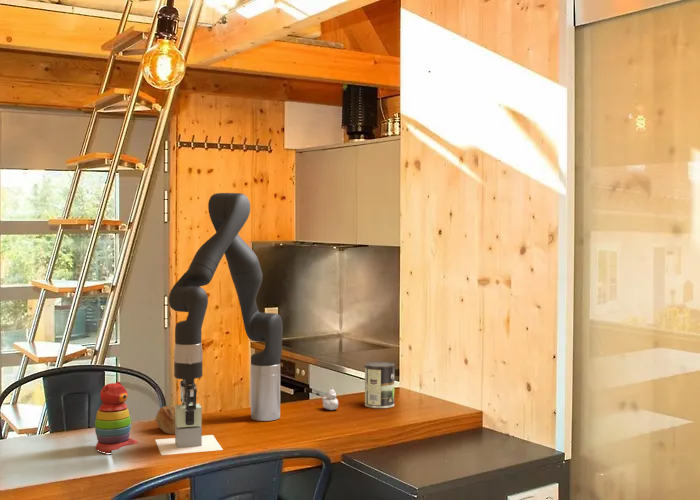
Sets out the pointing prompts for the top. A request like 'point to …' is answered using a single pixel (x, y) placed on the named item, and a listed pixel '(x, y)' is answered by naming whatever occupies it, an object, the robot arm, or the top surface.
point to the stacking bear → (113, 419)
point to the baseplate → (170, 447)
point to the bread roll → (166, 419)
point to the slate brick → (188, 436)
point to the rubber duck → (330, 400)
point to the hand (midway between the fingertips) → (188, 421)
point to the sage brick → (181, 416)
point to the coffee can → (379, 384)
